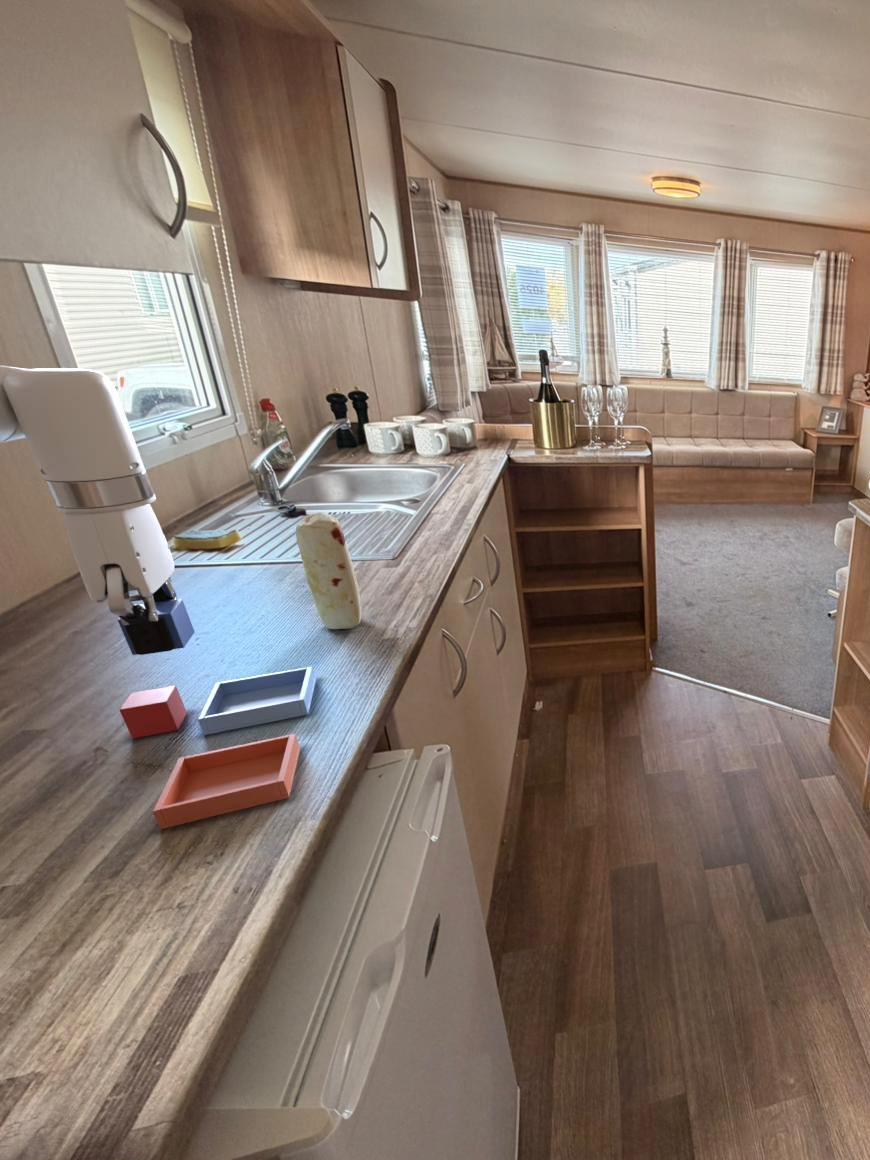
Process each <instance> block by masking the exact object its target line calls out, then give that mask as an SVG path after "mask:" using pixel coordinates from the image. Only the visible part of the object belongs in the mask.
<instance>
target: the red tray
mask: <svg viewBox="0 0 870 1160" xmlns="http://www.w3.org/2000/svg"><path fill="white" fill-rule="evenodd" d="M300 752H301V748H300V744H299V741H298V738H297V735H296V733H290V734H287V735H286V734H285V735H282V736H277V737H271V738H268V739H262V740H258V741H252V742H250V743H244V744H238V745H234V746H229V747H223V748H220V749H215V750H209V751H204V752H201V753H195V754H190V755H186V756H180V757H178V758H177V761H176V763H175V765H174V767H173V769H172V771H171V772H170V775H169V777H168V779H167V781H166V783H165V786H164V787H163V789H162V791H161V794H160V796H159V798H158V800H157V801H156V804H155V806H154V807H153V810H152V814H153V816H154V819H155V820H156V822H157V825H158V826H159V828H160V830H164V829H168V828H172V827H176V826H180V825H184V824H188V823H193V822H196V821H200V820H204V819H205V820H206V819H209V818H212V817H215V816H220V815H225V814H229V813H232V812H233V813H234V812H237V811H241V810H245V809H248V808H254V807H257V806H260V805H265V804H269V803H273V802H277V801H282V800H284V799H285V800H286V799H289V798H290V795H291V791H292V787H293V783H294V779H295V775H296V770H297V766H298V761H299V757H300Z"/></svg>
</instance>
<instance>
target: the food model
mask: <svg viewBox="0 0 870 1160" xmlns="http://www.w3.org/2000/svg"><path fill="white" fill-rule="evenodd" d="M342 528H343V527H342V526H341V523H340V522H339V520H338V519H337V518H336V517H334V515H331V514H327V513H324V512H316V513H312V514H309V515H306V516H305V517H304V518H303V519H302V521H301V525H299V524H296V525H295V532H294V533H295V538H296V543H297V546H298V549H299V553H300V557H301V558H300V559H301V562H302V565H303V569H304V573H305V576H306V580H307V583H308V586H309V589H310V592H311V595H312V599H313V602H314V605H315V607H316V610H317V614H318V616H319V619H320V621H321V622H322V624H323V625H324V627H326V628H327V629H329V630H343V629H345V630H346V629H347V630H348V629H353V628H354V627H357V626H358V625H359V624H360V623H361V620H362V607H361V605H362V604H361V595H360V589H359V584H358V579H357V576H356V575H357V574H356V571H355V569H354V564H353V562H352V558H351V555H350V550H349V547H348V543H347V540H346V538H345V535H344V532H343V529H342Z"/></svg>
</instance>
